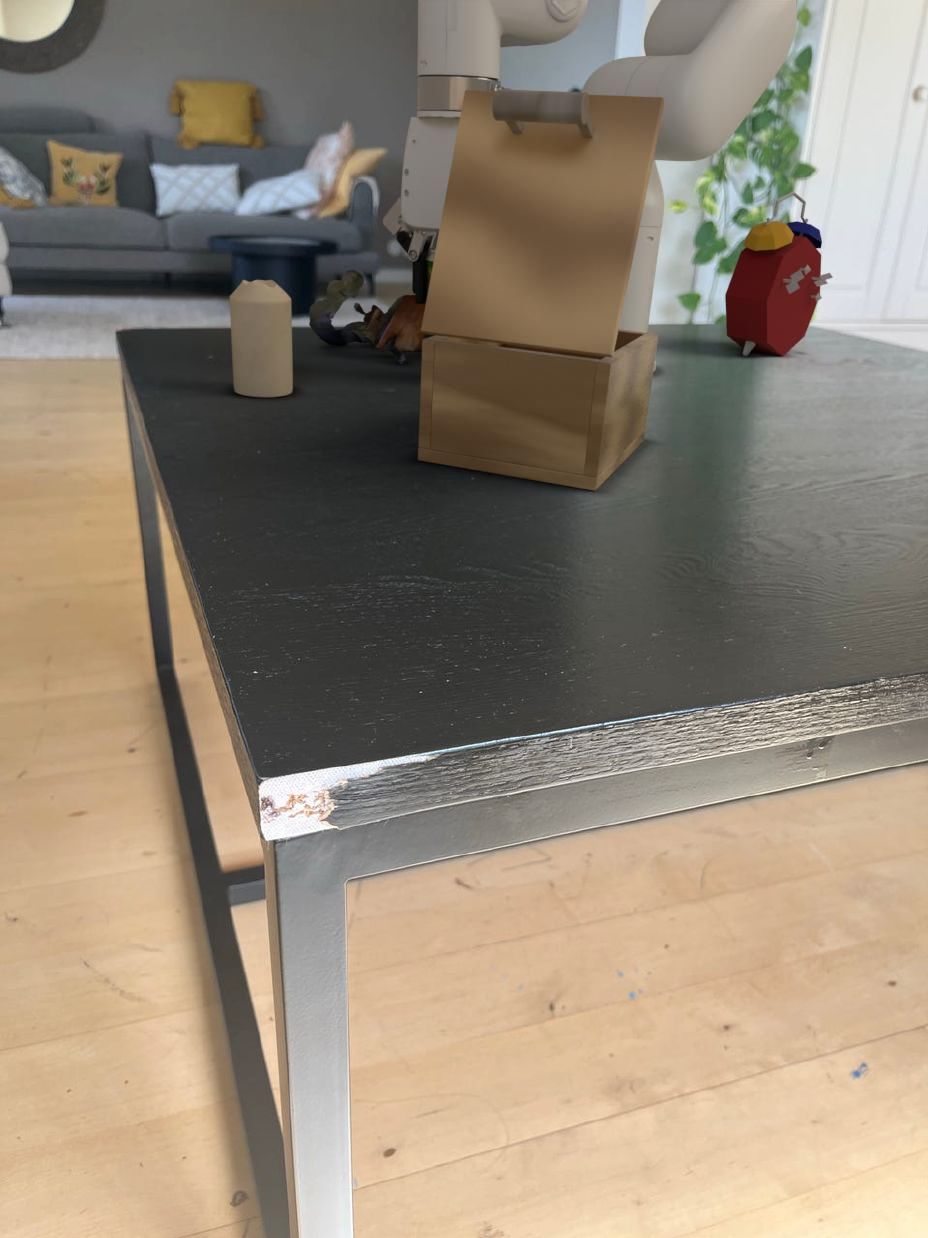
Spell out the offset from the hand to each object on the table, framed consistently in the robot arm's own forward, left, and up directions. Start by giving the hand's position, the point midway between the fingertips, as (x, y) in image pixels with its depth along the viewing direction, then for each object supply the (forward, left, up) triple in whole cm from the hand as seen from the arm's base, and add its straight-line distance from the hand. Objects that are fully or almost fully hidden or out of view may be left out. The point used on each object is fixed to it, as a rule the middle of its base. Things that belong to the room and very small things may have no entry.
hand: (451, 302), depth 96 cm
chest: (+21, +17, -8) cm, 28 cm away
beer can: (0, 0, -7) cm, 7 cm away
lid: (+25, +17, +9) cm, 32 cm away
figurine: (-9, -12, -8) cm, 17 cm away
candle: (+16, -12, -8) cm, 22 cm away
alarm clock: (-44, +29, -8) cm, 53 cm away
